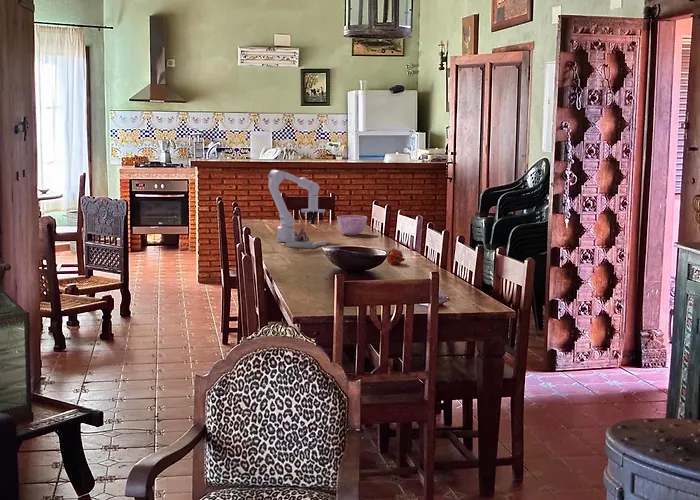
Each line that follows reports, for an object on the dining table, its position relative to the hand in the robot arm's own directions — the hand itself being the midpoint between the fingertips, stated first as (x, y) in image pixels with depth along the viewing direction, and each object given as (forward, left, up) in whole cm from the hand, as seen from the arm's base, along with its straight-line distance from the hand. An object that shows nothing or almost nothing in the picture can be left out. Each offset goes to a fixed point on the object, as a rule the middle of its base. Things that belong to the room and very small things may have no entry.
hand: (313, 224), depth 522 cm
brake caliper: (+4, -26, -10) cm, 28 cm away
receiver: (+6, -24, -10) cm, 26 cm away
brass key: (-5, -27, -10) cm, 29 cm away
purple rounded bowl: (+11, +37, -10) cm, 40 cm away
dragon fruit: (+75, -63, -10) cm, 98 cm away
